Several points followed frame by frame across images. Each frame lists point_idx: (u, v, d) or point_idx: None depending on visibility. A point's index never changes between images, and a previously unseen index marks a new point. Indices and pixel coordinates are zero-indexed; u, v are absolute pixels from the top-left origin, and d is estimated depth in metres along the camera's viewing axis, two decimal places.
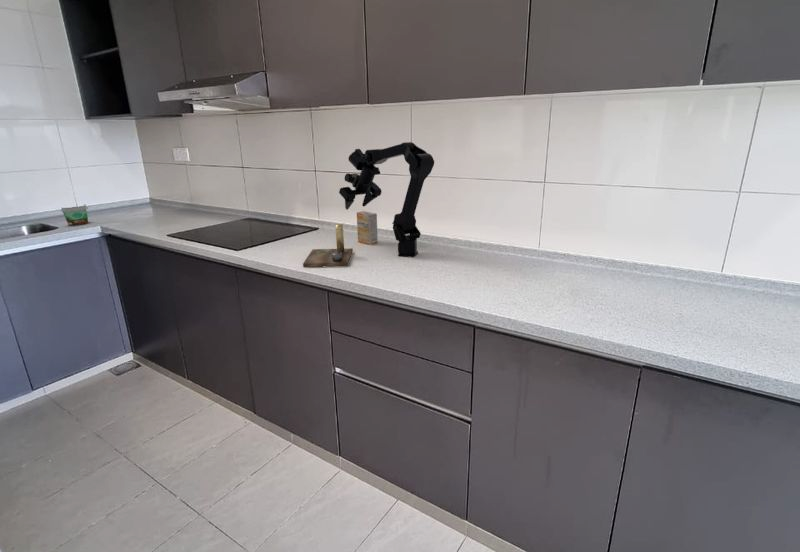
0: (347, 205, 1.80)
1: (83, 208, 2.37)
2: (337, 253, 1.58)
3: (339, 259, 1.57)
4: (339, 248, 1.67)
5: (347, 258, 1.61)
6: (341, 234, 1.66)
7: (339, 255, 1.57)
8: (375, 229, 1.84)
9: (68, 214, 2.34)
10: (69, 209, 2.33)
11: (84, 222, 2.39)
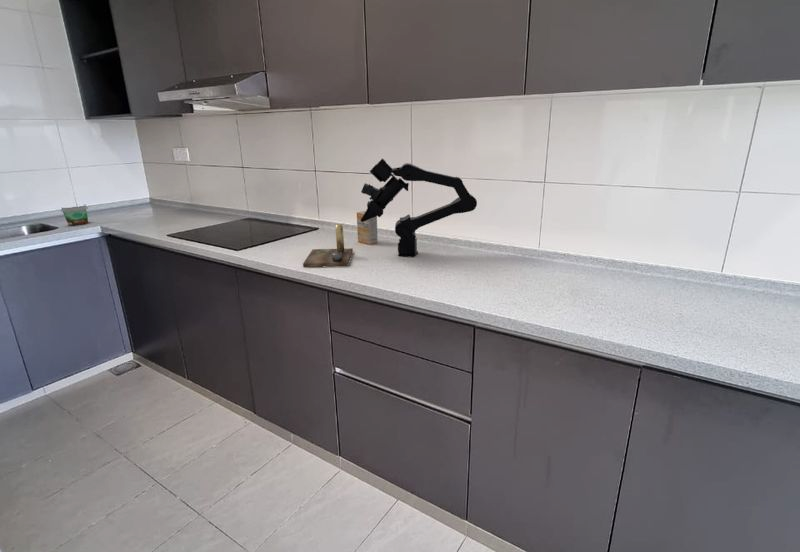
0: (367, 218, 1.64)
1: (83, 208, 2.37)
2: (337, 253, 1.58)
3: (339, 259, 1.57)
4: (339, 248, 1.67)
5: (347, 258, 1.61)
6: (341, 234, 1.66)
7: (339, 255, 1.57)
8: (375, 229, 1.84)
9: (68, 214, 2.34)
10: (69, 209, 2.33)
11: (84, 222, 2.39)
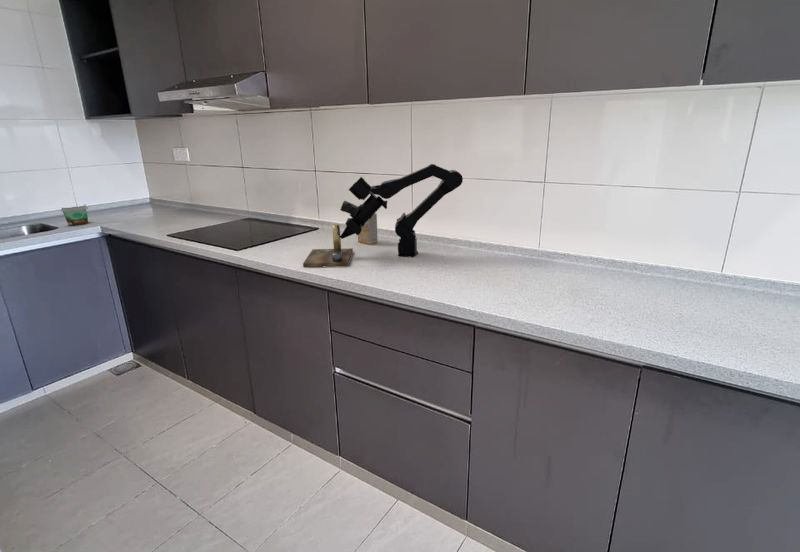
0: (347, 235, 1.66)
1: (83, 208, 2.37)
2: (337, 253, 1.58)
3: (339, 259, 1.57)
4: (336, 248, 1.67)
5: (347, 258, 1.61)
6: (338, 234, 1.66)
7: (339, 255, 1.57)
8: (375, 229, 1.84)
9: (68, 214, 2.34)
10: (69, 209, 2.33)
11: (84, 222, 2.39)
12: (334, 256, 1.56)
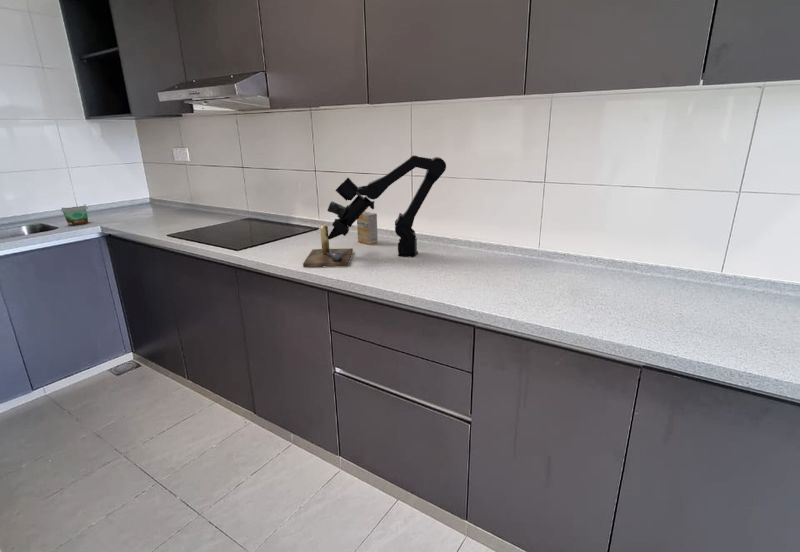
0: (334, 235, 1.66)
1: (83, 208, 2.37)
2: (337, 253, 1.58)
3: (341, 258, 1.58)
4: (326, 249, 1.66)
5: (347, 258, 1.61)
6: (327, 235, 1.65)
7: (341, 254, 1.57)
8: (375, 229, 1.84)
9: (68, 214, 2.34)
10: (69, 209, 2.33)
11: (84, 222, 2.39)
12: (336, 256, 1.56)
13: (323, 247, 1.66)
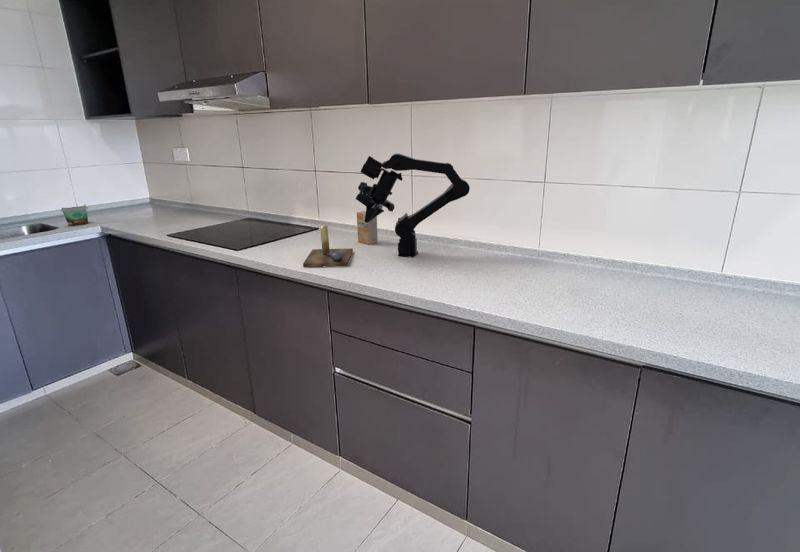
0: (368, 216, 1.63)
1: (83, 208, 2.37)
2: (337, 253, 1.58)
3: (341, 258, 1.58)
4: (326, 249, 1.66)
5: (347, 258, 1.61)
6: (327, 235, 1.65)
7: (341, 254, 1.57)
8: (375, 229, 1.84)
9: (68, 214, 2.34)
10: (69, 209, 2.33)
11: (84, 222, 2.39)
12: (336, 256, 1.56)
13: (323, 247, 1.66)
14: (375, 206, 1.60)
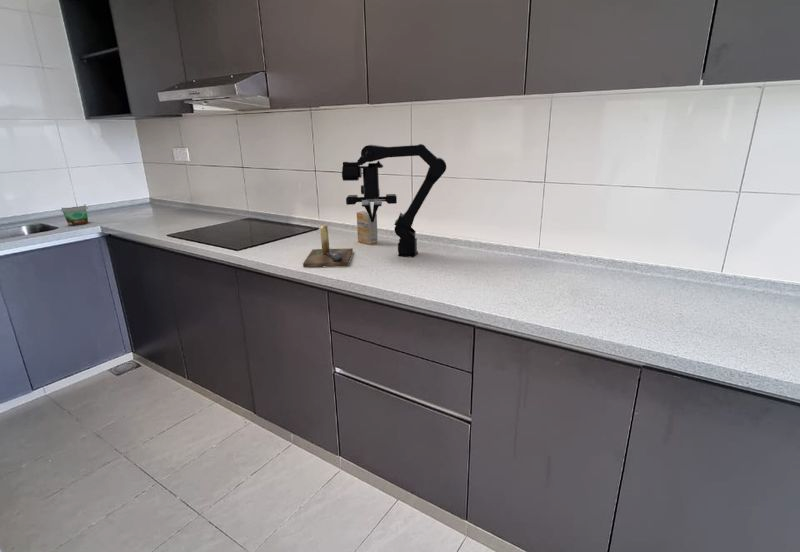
0: (369, 215, 1.64)
1: (83, 208, 2.37)
2: (337, 253, 1.58)
3: (341, 258, 1.58)
4: (326, 249, 1.66)
5: (347, 258, 1.61)
6: (327, 235, 1.65)
7: (341, 254, 1.57)
8: (375, 229, 1.84)
9: (68, 214, 2.34)
10: (69, 209, 2.33)
11: (84, 222, 2.39)
12: (336, 256, 1.56)
13: (323, 247, 1.66)
14: (364, 202, 1.62)
